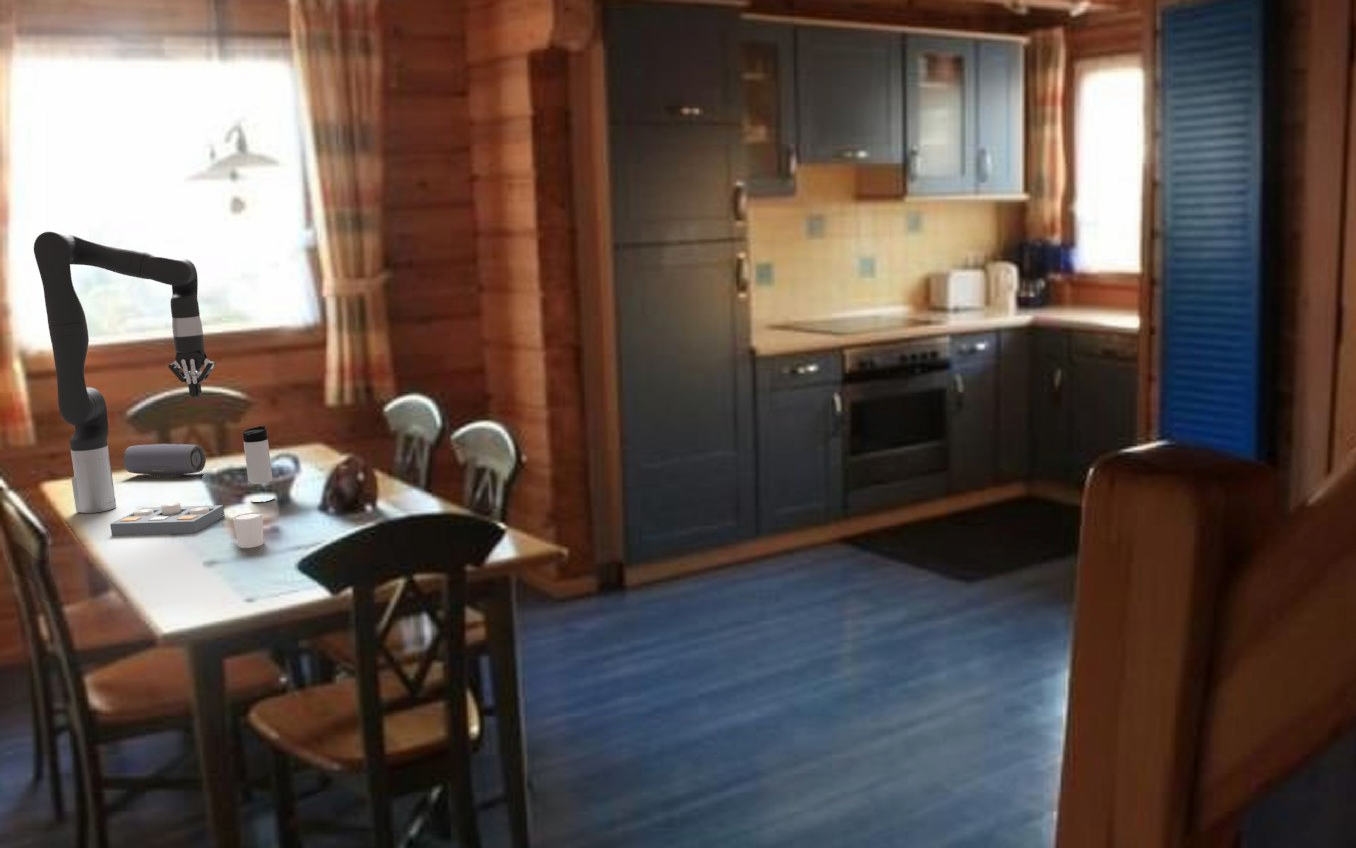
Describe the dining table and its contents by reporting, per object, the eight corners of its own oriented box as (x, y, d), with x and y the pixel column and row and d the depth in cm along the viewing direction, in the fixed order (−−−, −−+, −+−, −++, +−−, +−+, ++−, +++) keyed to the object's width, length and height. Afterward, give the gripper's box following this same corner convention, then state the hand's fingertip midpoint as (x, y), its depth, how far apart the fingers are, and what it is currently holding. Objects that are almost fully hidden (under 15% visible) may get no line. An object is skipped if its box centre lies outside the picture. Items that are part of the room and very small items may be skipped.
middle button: (159, 518, 330) (157, 507, 330) (168, 514, 335) (166, 502, 334) (176, 518, 330) (174, 506, 329) (184, 513, 334) (183, 502, 334)
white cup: (238, 550, 303) (234, 521, 302) (233, 544, 309) (230, 515, 308) (268, 545, 306) (265, 516, 305) (263, 539, 312) (259, 510, 311)
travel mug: (280, 497, 355) (272, 425, 351) (263, 503, 349) (254, 430, 345) (262, 496, 358) (254, 425, 354) (245, 502, 352) (236, 430, 348)
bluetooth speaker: (209, 472, 395) (205, 440, 394) (191, 479, 387) (187, 446, 385) (143, 473, 401) (139, 441, 399) (124, 480, 392) (120, 447, 390)
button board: (111, 535, 324) (110, 523, 324) (144, 518, 340) (143, 506, 339) (195, 533, 322) (193, 520, 321) (224, 516, 337) (223, 504, 337)
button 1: (132, 525, 331) (130, 513, 331) (141, 520, 336) (139, 509, 335) (149, 524, 331) (147, 513, 330) (158, 519, 335) (156, 508, 335)
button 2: (187, 523, 330) (186, 511, 329) (196, 518, 334) (194, 507, 334) (204, 522, 329) (203, 511, 329) (213, 518, 334) (211, 506, 333)
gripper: (217, 331, 352) (225, 394, 355) (172, 332, 354) (179, 395, 357) (204, 334, 345) (212, 398, 348) (157, 336, 347) (166, 400, 350)
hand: (195, 397), depth 353 cm, fingers closed
